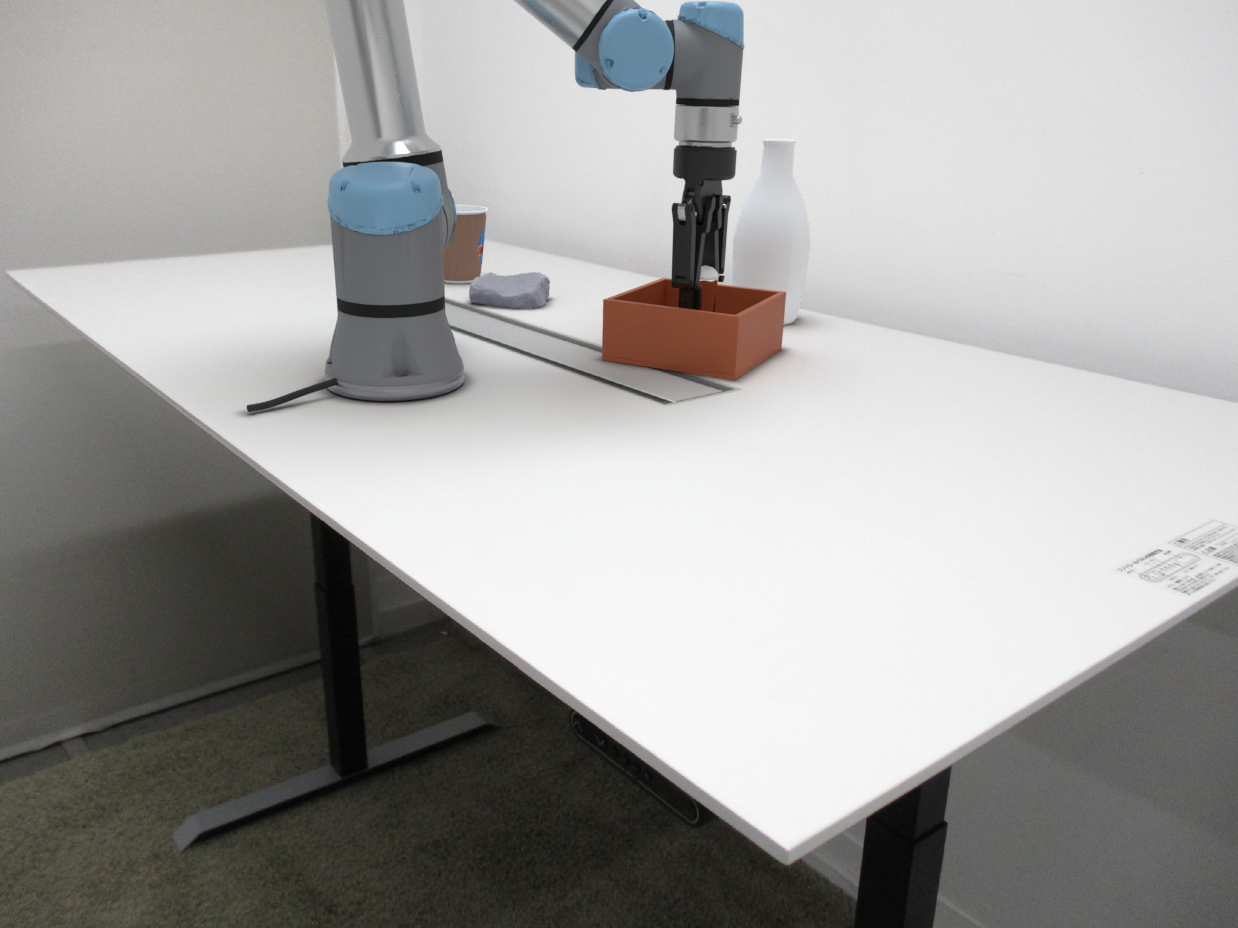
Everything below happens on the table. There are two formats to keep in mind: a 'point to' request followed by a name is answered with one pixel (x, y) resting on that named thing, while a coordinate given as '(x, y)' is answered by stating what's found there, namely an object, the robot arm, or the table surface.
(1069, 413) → the table surface
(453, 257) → the coffee cup
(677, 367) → the bin
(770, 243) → the bottle
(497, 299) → the stone block
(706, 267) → the milkshake
